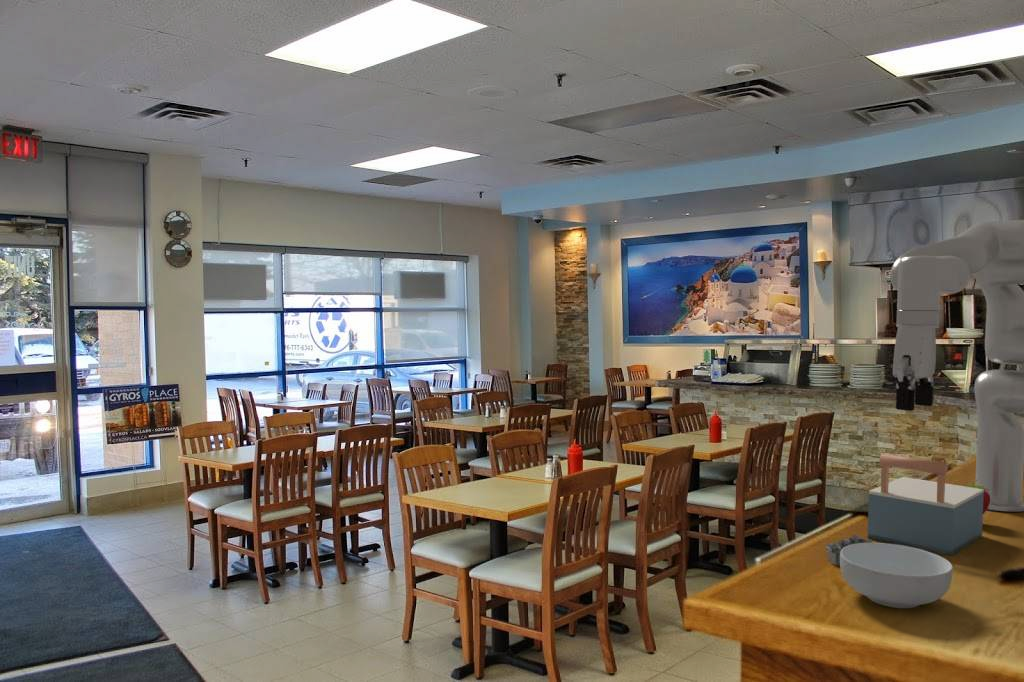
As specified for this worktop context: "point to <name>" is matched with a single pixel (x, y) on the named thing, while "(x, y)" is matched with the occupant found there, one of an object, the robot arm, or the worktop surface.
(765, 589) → the worktop surface
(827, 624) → the worktop surface
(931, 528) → the carton
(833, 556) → the egg carton
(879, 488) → the flap
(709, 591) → the worktop surface
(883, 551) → the cereal bowl
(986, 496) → the strawberry
